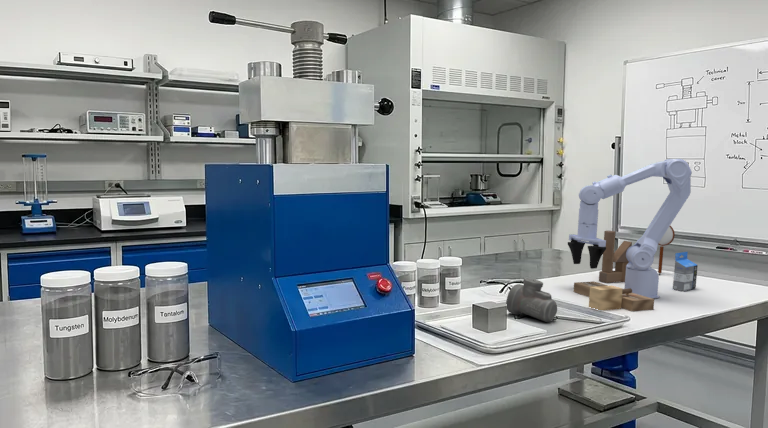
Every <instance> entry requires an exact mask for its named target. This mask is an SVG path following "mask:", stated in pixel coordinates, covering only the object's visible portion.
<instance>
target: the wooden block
mask: <svg viewBox="0 0 768 428" xmlns="http://www.w3.org/2000/svg"><path fill="white" fill-rule="evenodd" d="M603 240H606V250H605V251H604V253H603V254H602V262H601V270H600V271H599V273H598V274H599V275H598V282H600V283H603V284H611V283H612V284H613V282H614V283H625V275H626V265H627V264H628V263H629V261H628V260H627V258H626V252H627V250H628V248H629V247H631V246H633V242H632V241H627V240H623V241H622V242H621V244H620V245H619V246H618V247H617V249H616V250H615V244H616V243H615V242H616V231H615V230H604V232H603ZM614 263H615V265H614Z"/></svg>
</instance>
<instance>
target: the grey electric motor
mask: <svg viewBox="0 0 768 428" xmlns="http://www.w3.org/2000/svg"><path fill="white" fill-rule="evenodd" d="M522 283H523V284H521V283H516V284H514V285H513V286H512V287H511V288H510V289H509V291H508V293H507V297H506V302H505V305H506V304H507V308H506V310H507V312H508V313H510V314H512V315H515V316H516V315H517V316H518V315H521V314H524V315H527V316H529V317H532V318H534V319H537V320H540V321H542V322H545V323H550V322H551V321H553V319H555V317H556V315H557V313H558V305H557V302H556V301H555V300H554V299H552V295H551V293H550V292H546V291H544V290H542V288H543V287H544V282H543V281H541V280H538V279H535V278H529V277H525V278H523V282H522Z"/></svg>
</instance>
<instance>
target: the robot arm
mask: <svg viewBox="0 0 768 428" xmlns="http://www.w3.org/2000/svg"><path fill="white" fill-rule="evenodd" d="M692 173H693V171H692V169H691V167H690V165H689V163H688V162H687V161H686V160H685V159H684V158H667V159H664V160H662V161H656V162H654V163H653V162H652V163H649V164H648V165H645V166H643V167H641V168H638V169H636V170H633V171H632V172H629V173H627V174H624V175H622V176H620V175H618V174H614V175H612V174H608V175H606V177H607V178H603V179H601V180H599V181H592V184H591V185H589V184H588V185H585V186H583V187H582V188H581V189H580V191H579V193H578V198H579V201H580V202H579V209H578V223H577V234H571V233H570V234H568V242H567V245H568V248H569V251H570V253H571V257H572V262H573V265H580V264H581V261H582V255H583V254H582V253H583V250H584V248H585V245H586V244H587V250H588V254H589V268H590V269H591V270H594V269H597V268H598V265H599V263H600V260H601V258H602V257H603V253H604V251H605V250H606V240H604V239H602V238H598V237H597V235H598V234H597V233H598V224H599V223H598V221H599V202H600V201H601V200H604V199H607V198H611V197H612V196H615V195H618V194H620V193H623V192H624V191H625V188H626V187H627V186H630V185H632V184H634V183H637V182H641V181H643V180H647V179H649V178H652V177H657V178H658V177H660V178H662V179H664V181H665V182H666V183H667V187H668V190H669V193H668V195H667V196H666V198H665V200H664V201H663V203H662V204H661V206H660V207H659V209H658V210H657V212H656V214H655V215H654V217H653V219H652V220H651V221H650V223H649V225H648V226H647V227H646V229H645V231H644V233H643V234H642V236H640V237H639V238H638V239H637V240H636V242H634V244H632V246H631V247H629V248H628V250H627V252H626V258H627V260H628V261H629V263H628V264H627V265H626V275H625V282H624V288H623V289H628V288H631V289H632V293H635V294H639V295H642V296H645V297H649V298H652V299H657V298H658V299H659V298H660V296H659V295H658V294H659V292H658V291H659V280H660V279H659V278H660V277H659V276H660V275H659V273H658V270H656V269H654V267H652V265H653V263H654V259H655V258H654V257H655V255H656V253H657V250H658V246H659V245H658V243H659V242H660V240H661V239H662V237H663V236H664V234H665V232H666V231H667V229H668V228H669V226H671V224H672V223H673V222H674V220H675V218H676V217H677V215H679V213H680V211H681V209H682V208H683V206H684V205H685V203H686V202H687V199H688V198H689V197H690V196H691V192H692V191H691V190H692V189H691V187H692V186H691V182H692V180H691V179H692V178H691V177H692Z"/></svg>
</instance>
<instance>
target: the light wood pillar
mask: <svg viewBox="0 0 768 428" xmlns="http://www.w3.org/2000/svg"><path fill="white" fill-rule="evenodd" d="M629 293H632V289H631V288H628V289H624V288H622V287H619V286H615V285H608V286H595V287H590V295H589V297H588V308H589V307H591V308H590V309H592V308H595V309H598V310H603V311H611V310H612V311H614V310H621V309H622V308H621V303H622V294H626V295H629ZM595 309H594V310H595ZM598 310H597V311H598Z"/></svg>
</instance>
